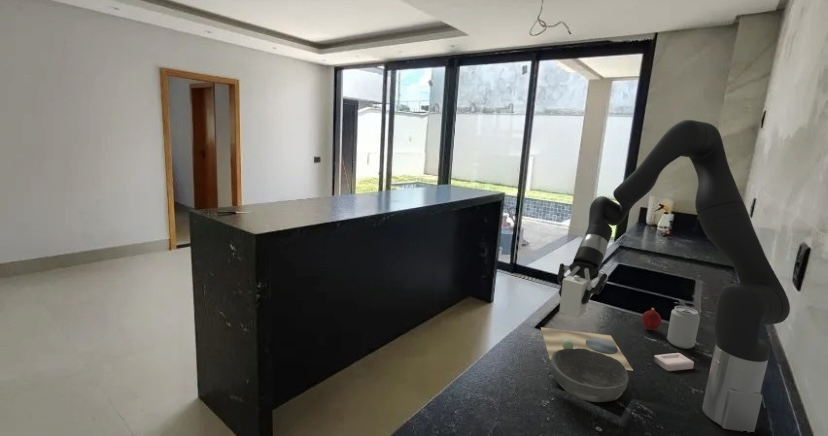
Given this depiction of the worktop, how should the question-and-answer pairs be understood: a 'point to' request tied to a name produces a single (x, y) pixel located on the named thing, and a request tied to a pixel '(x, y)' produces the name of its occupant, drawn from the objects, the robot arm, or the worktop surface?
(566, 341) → the ball
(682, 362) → the soap bar
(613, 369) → the bowl
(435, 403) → the worktop surface
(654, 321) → the onion
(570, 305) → the small milk carton
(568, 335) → the board
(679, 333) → the can
